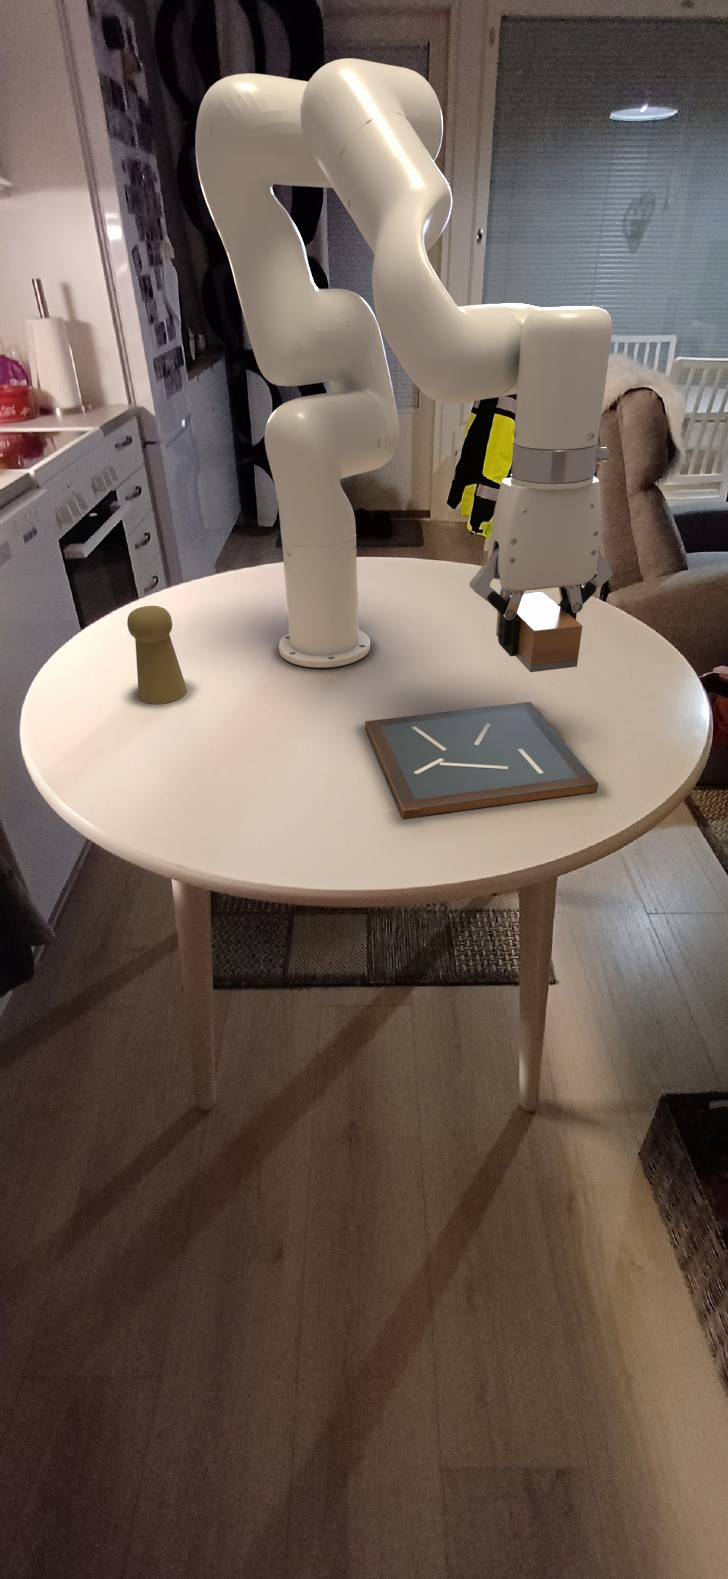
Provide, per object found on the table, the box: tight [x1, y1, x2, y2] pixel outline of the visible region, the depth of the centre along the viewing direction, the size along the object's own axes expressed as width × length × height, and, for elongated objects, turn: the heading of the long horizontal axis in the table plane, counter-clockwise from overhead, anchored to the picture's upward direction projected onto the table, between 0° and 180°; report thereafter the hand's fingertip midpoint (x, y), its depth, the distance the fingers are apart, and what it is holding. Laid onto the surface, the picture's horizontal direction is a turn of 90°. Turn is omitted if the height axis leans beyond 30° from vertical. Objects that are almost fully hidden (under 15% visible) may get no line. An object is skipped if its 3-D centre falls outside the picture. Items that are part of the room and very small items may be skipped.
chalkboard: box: [364, 701, 599, 819], centre depth 83 cm, size 18×20×1 cm
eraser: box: [495, 591, 583, 673], centre depth 80 cm, size 10×5×4 cm, turn 12°
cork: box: [126, 605, 188, 705], centre depth 94 cm, size 6×6×11 cm
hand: (534, 646), depth 81 cm, fingers closed on eraser, 5 cm apart
